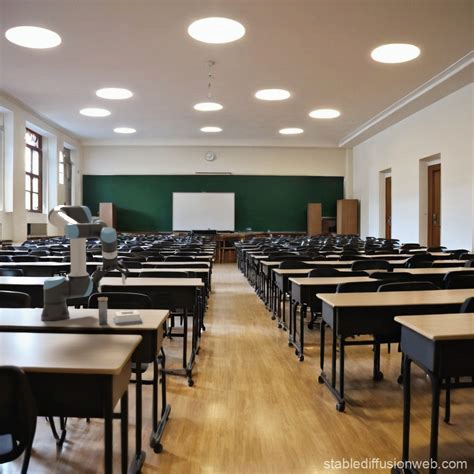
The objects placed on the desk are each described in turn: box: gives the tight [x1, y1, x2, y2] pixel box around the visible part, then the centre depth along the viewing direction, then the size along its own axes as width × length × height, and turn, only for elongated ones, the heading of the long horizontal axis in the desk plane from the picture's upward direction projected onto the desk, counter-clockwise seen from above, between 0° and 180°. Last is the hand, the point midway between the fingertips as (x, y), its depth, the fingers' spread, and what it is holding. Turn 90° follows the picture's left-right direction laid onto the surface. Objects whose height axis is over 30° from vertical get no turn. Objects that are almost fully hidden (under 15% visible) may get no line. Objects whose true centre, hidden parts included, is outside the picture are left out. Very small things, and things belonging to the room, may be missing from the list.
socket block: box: [113, 309, 143, 326], centre depth 242 cm, size 14×14×4 cm
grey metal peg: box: [97, 296, 109, 326], centre depth 236 cm, size 5×5×14 cm
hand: (111, 287), depth 239 cm, fingers open, 13 cm apart
